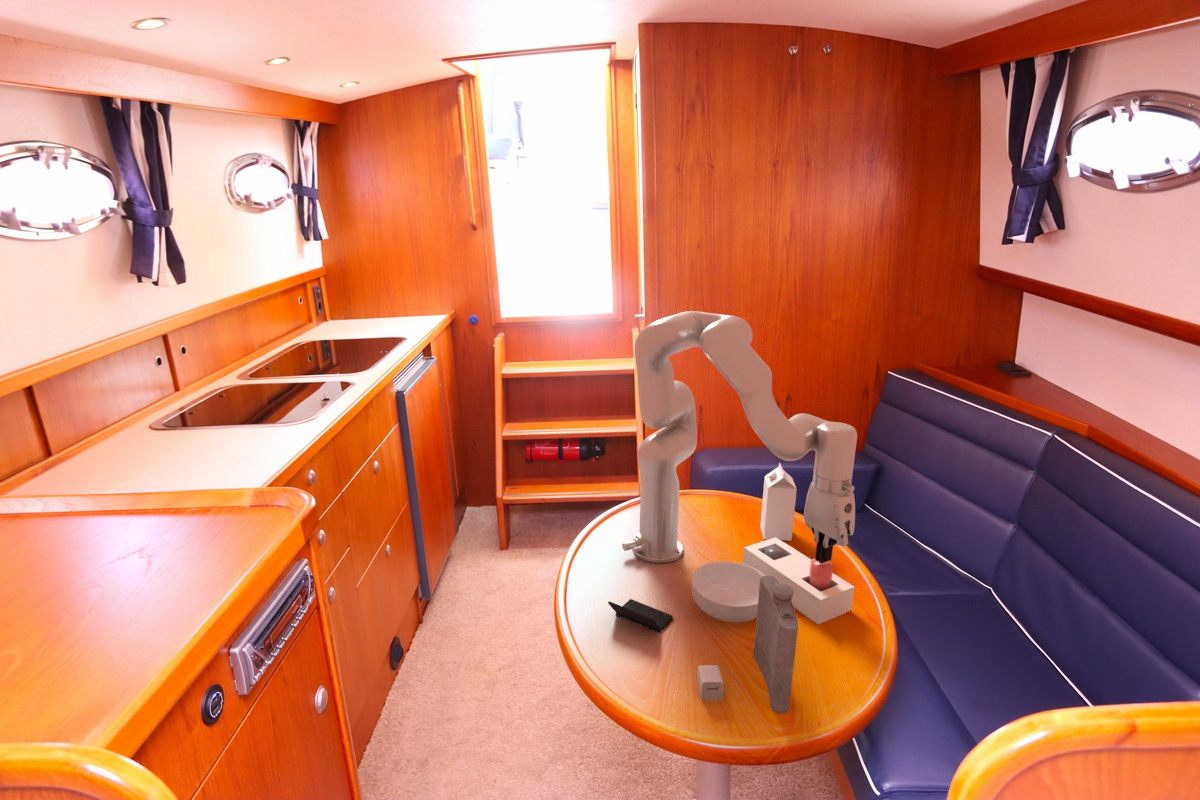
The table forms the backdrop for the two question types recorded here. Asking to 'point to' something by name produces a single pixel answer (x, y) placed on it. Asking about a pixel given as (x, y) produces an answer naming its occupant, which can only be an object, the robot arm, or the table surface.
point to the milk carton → (778, 505)
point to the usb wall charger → (710, 682)
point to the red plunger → (820, 574)
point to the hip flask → (776, 640)
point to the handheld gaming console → (642, 615)
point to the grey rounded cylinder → (774, 552)
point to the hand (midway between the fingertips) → (823, 559)
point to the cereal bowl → (727, 590)
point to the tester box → (801, 581)
